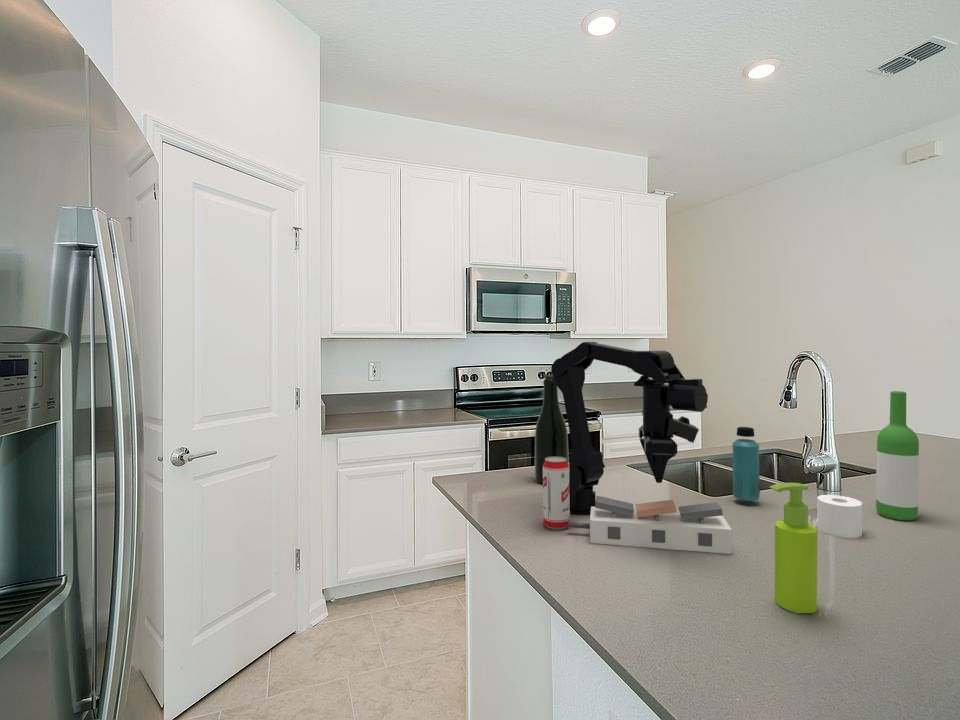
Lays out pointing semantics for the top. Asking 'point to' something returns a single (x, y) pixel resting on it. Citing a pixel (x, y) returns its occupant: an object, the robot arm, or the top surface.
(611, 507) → the rocker
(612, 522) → the power strip
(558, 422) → the beer bottle
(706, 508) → the rocker
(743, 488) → the beverage bottle
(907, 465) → the wine bottle
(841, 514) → the toilet paper
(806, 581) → the soap dispenser
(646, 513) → the rocker
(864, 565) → the top surface
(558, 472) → the beer can
